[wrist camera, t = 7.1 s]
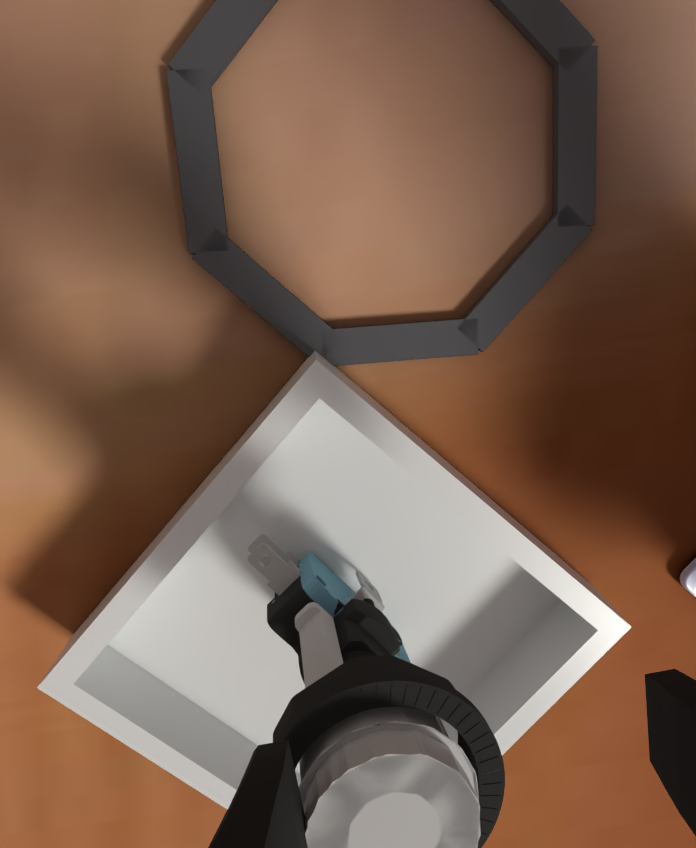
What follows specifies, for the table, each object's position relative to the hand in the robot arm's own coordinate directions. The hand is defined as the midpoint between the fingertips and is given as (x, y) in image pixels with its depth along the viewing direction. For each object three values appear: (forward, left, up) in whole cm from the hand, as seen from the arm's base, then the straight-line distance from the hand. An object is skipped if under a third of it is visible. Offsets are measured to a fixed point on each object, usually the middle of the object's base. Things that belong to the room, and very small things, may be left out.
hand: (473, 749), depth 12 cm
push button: (+1, +3, -10) cm, 10 cm away
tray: (0, +4, -10) cm, 11 cm away
